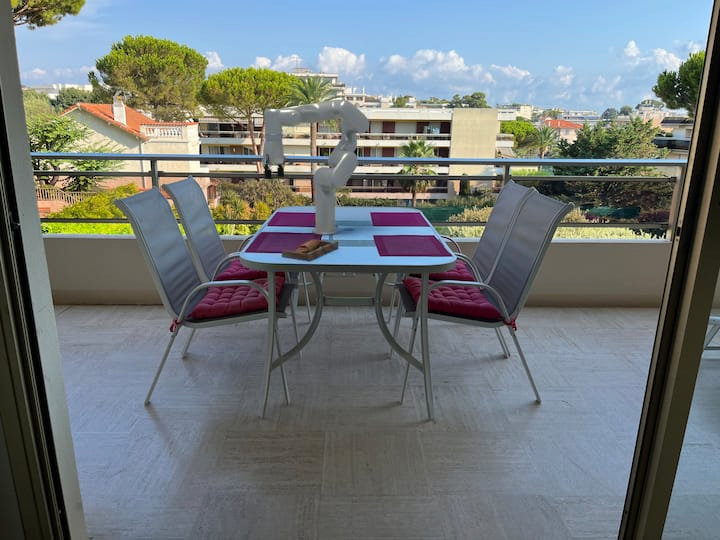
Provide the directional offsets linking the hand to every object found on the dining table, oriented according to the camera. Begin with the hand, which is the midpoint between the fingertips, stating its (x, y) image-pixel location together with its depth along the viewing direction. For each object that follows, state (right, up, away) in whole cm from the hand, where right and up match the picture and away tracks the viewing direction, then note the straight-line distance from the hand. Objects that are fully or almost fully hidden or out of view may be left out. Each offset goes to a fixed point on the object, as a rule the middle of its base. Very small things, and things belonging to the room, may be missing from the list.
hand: (274, 177), depth 237 cm
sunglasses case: (+15, -34, -11) cm, 39 cm away
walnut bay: (+17, -34, -13) cm, 40 cm away
